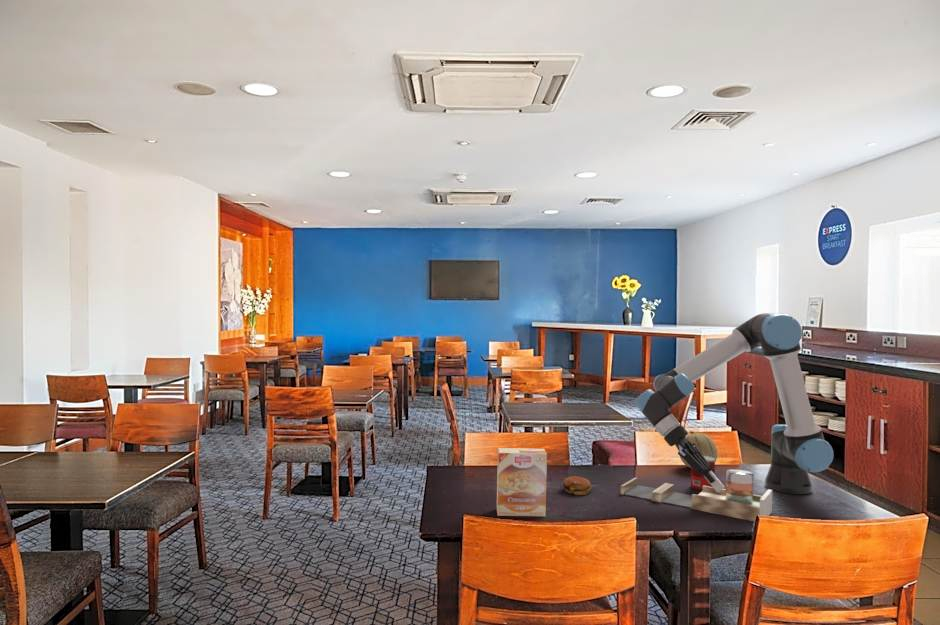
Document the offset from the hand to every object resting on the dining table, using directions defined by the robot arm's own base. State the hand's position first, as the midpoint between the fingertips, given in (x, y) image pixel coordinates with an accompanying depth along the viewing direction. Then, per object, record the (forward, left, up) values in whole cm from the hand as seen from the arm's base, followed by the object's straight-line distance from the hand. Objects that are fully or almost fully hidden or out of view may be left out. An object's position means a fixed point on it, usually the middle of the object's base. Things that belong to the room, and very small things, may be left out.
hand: (721, 490), depth 199 cm
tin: (-5, -1, -3) cm, 6 cm away
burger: (+46, -4, -7) cm, 47 cm away
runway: (+8, -4, -6) cm, 11 cm away
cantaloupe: (+3, -50, -6) cm, 51 cm away
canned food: (+4, -23, -6) cm, 24 cm away
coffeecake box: (+61, +24, -6) cm, 66 cm away
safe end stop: (-7, +1, -6) cm, 9 cm away
